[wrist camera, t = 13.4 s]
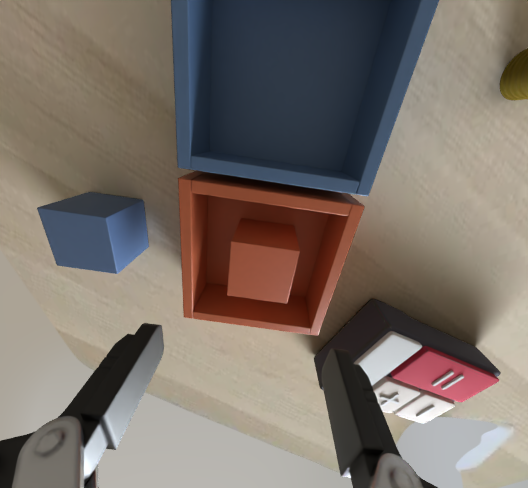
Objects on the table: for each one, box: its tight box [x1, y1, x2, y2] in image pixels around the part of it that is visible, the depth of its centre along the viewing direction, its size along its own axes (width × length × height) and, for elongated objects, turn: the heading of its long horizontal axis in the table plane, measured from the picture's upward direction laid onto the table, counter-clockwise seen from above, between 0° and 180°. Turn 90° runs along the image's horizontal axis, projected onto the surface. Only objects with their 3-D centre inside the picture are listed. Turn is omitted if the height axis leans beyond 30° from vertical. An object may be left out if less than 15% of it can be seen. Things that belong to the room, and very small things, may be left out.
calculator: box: [314, 299, 500, 423], centre depth 24 cm, size 11×4×15 cm
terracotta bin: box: [178, 170, 364, 336], centre depth 18 cm, size 12×12×4 cm
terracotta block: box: [227, 218, 300, 303], centre depth 17 cm, size 5×5×5 cm
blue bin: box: [171, 0, 439, 196], centre depth 12 cm, size 12×12×4 cm
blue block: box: [37, 192, 149, 274], centre depth 17 cm, size 5×5×5 cm
